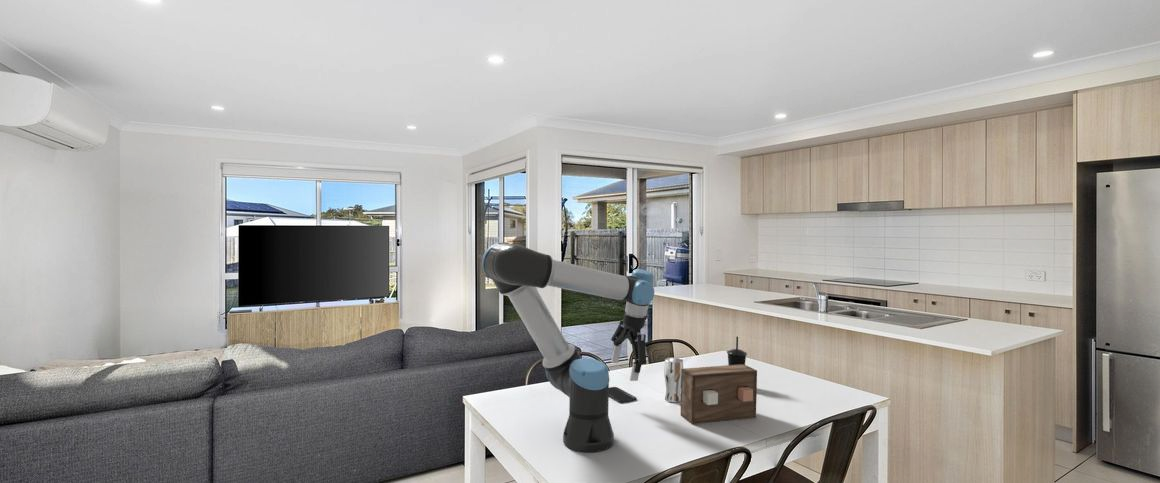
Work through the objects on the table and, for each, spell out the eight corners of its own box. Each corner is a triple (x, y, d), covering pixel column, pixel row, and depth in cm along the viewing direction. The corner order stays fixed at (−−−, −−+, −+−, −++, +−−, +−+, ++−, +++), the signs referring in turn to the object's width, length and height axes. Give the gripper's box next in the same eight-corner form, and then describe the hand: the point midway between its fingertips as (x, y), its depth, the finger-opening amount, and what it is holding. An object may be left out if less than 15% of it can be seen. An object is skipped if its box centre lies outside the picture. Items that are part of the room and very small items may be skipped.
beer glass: (686, 399, 189) (687, 359, 188) (676, 404, 184) (676, 363, 183) (670, 395, 193) (671, 356, 193) (660, 400, 188) (660, 359, 188)
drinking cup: (748, 385, 207) (749, 336, 206) (743, 390, 200) (744, 339, 199) (729, 381, 211) (730, 333, 210) (723, 386, 204) (724, 337, 204)
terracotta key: (752, 400, 168) (753, 389, 168) (743, 401, 167) (743, 390, 167) (742, 394, 173) (742, 384, 173) (733, 395, 172) (733, 385, 172)
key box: (756, 417, 172) (757, 370, 172) (691, 424, 166) (692, 375, 165) (742, 409, 180) (743, 364, 179) (680, 415, 174) (681, 368, 173)
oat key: (717, 404, 164) (717, 393, 164) (707, 405, 163) (707, 393, 163) (708, 398, 170) (708, 387, 170) (698, 398, 169) (698, 388, 169)
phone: (615, 386, 201) (637, 398, 188) (615, 389, 201) (637, 401, 188) (598, 389, 197) (619, 401, 184) (598, 392, 197) (619, 404, 184)
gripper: (664, 328, 167) (651, 387, 171) (626, 302, 189) (616, 355, 192) (645, 328, 163) (632, 389, 167) (609, 301, 185) (598, 355, 189)
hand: (623, 371), depth 180 cm, fingers open, 13 cm apart
